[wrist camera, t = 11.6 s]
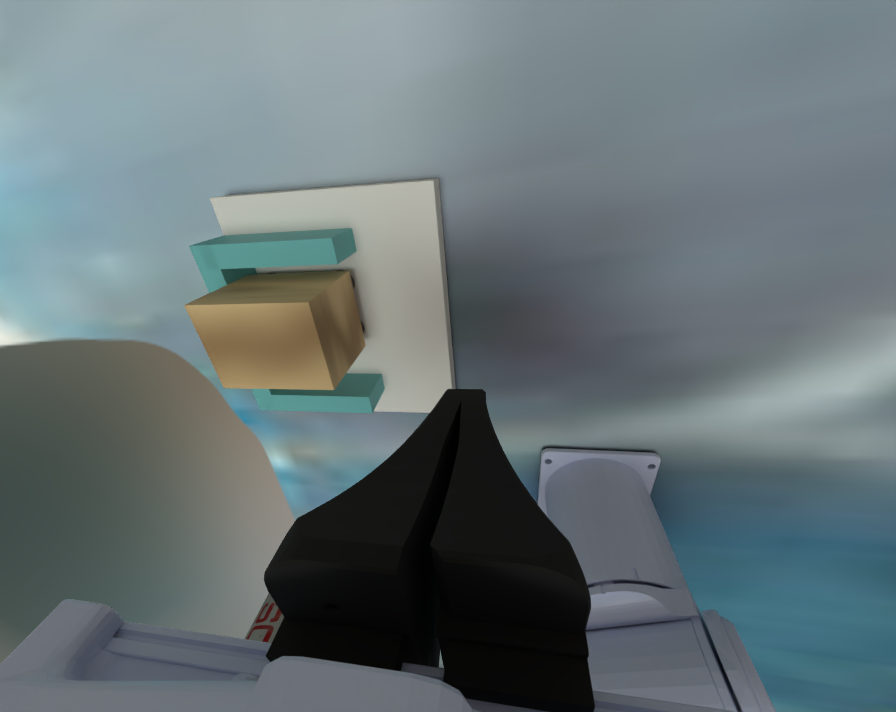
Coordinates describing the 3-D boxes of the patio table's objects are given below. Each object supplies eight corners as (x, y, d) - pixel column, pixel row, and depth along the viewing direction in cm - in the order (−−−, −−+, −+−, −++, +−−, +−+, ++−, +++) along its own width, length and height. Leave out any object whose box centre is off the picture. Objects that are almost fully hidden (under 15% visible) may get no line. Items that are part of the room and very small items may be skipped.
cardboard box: (370, 339, 21) (334, 390, 17) (280, 340, 22) (224, 387, 18) (354, 266, 19) (308, 302, 15) (256, 270, 20) (184, 305, 16)
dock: (456, 399, 25) (448, 439, 21) (300, 396, 27) (270, 432, 23) (438, 178, 18) (422, 184, 14) (229, 195, 20) (171, 204, 16)
